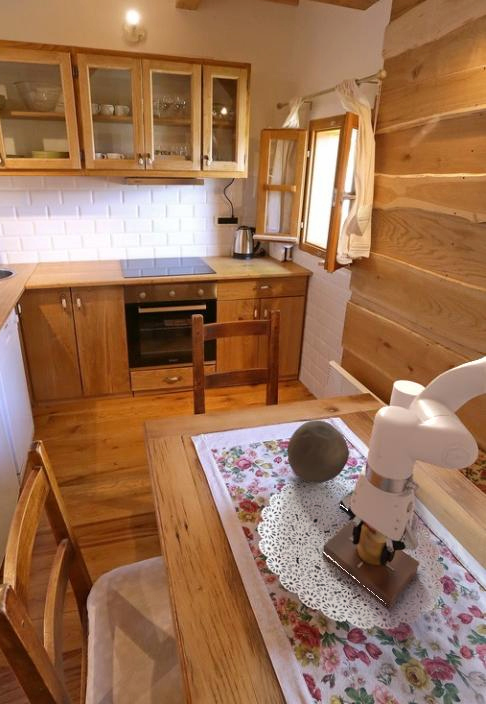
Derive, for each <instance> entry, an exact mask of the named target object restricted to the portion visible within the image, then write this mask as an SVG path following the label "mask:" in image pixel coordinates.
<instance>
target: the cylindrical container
mask: <svg viewBox="0 0 486 704" xmlns="http://www.w3.org/2000/svg"><path fill="white" fill-rule="evenodd" d="M425 388H426V387H424V385H422V384H420V383H417V382H414V381H411V380H405V379H403V380H396V381H394V383H393V386H392V392H391V396H390V402H389V406H397V407H402V408H405V409H408V410H409V407H410V405H411V403H412V402H413V400H414V399H415V398H416V397H417V396H418V395H419V394H420V392H421V391H422V390H424V389H425Z"/></svg>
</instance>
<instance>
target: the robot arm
mask: <svg viewBox="0 0 486 704" xmlns="http://www.w3.org/2000/svg"><path fill="white" fill-rule="evenodd" d="M424 388H425V389H424V390H422V391H421V392H420V394H419V395H418V396H417V397H416V398H415V399H414V400H413V402H412V403H411V405H410V407H409V410H408V409H405V408H402V407H397V406H390V405H388V406H384V407H381V408H380V409H379V410H378V411H377V412H376V413H375V416H374V419H373V424H372V430H371V436H370V441H369V446H368V451H367V457H366V463H365V465H364V467H362V469H361V471H360V473H359V475H358V477H357V480H356V482H355V485H354V488H353V490H354V491H353V490H352V491H353V493H351V494H349V493H348V494H346V495H345V496H343V497H342V498H341V500H342V502H343V503H344V505H345V506H346V508H347V509H348V513H349V515H350V516H349V515H348V516H349V517H350V518H351V520H353V521H352V525H353V526H354V528H353V534H352V535H353V536H354V538H353V544H354V545H357V544H358V543H359V538H360V533H361V528H362V525H363V523H364V522H366V523H367V524H369V525H370V526H372V527H373V528H375V529H376V530H378V531H379V532H381V533H382V534H384V535H385V537H386V546H385V547H384V548H383V552H382V556H381V561H380V563H381V565H383V566H384V565H385V564H386V563H387V562H388V561H389V562H391V561H392V560H393V558H394V555H395V551H396V550H402V551H404V550H410V551H411V550H412V551H413V550H414V551H415V550H416V549H417V548H418V547H419V545H420V544H419V542H418V540H417V538H416V535H415V533H414V531H413V529H412V523H413V517H414V511H415V510H414V509H415V492H417V491H418V490H419V487H420V484H419V483H417V482H416V481H415V480H414V469H415V468H414V467H415V464H416V461H418V462H421V463H426V464H429V465H431V466H435V467H438V468H443V469H447V470H462V469H466V468H468V467H470V466H472V465H473V464H474V463H475V462H476V461H477V459H478V457H479V446H478V443H477V441H476V439H475V437H474V436H473V434H471V432H470V431H469V429H467V427H466V426H465V425H464V423H463V422H462V421H461V419H460V418H459V417H458V415H457V414H456V412H457V411H459V409H460V408H462V406H463V405H465V404H466V403H467V402H469V401H470V400H472V399H474V398H476V397H478V396H481V395H484V394H486V355H485V356H483V357H482V358H479V359H478V360H477V359H476V360H473V361H469V362H466V363H463V364H461V365H459V366H456V367H453V368H451V369H448V370H447V371H444V372H443V373H441V374H439V375H438V376H436V377H435V378H434V379H433V380H432V381H430V383H428V384H427V385H426V386H425V387H424Z"/></svg>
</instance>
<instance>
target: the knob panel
mask: <svg viewBox="0 0 486 704" xmlns="http://www.w3.org/2000/svg"><path fill="white" fill-rule="evenodd" d="M352 521H353V520H352V519H350V520H349V521H348V523H346V524H345V525H344V526H343V527H341V529H340V530H339V531H338V532H336V533H335V535H333V536H332V537H331V538H330V539H329V540H328V541H327V542H325V544H324V545H323V549H322V556H321V557H322V558H323V559H325V560H326V561H327V562H328V563H329V564H330V565H332V566H333V567H334V568H336V569H337V570H338V571H339V572H341V574H343V575H344V576H345V577H347V578H348V579H349V580H350V581H352V583H354V584H355V585H356V586H358V587H359V588H360V589H361V590H362V591H363V592H365V593H366V594H368V596H370V597H371V598H372V599H373V600H375V601H376V602H377V603H379V604H380V605H381V606H382V607H383V608H384V609H385V610H387V611H390V610H391V608H392V607H393V606H394V604H396V602H397V600H398V599H399V598H400V596H402V594H403V593H404V591H405V590H406V588H407V587H408V586H409V585H410V583H411V582H412V581H413V580H414V579H415V577H416V575H417V574H418V570H419V567H420V561H419V560H417V559H416V558H414V557H413V556H411V555H409V554H408V553H407V552H406V551H404V550H396V551H395V555H394V558H393V560H392V561H391V562H389V561H388V562H387V563H386V564H385V565H384V566H383V565H381V564H379V565H372V564H369V563H367V562H365V561H364V560H363V559H362V558H361V557H360V556H359V554H358V544H359V543H358V544H357V545H354V544H353V538H354V536H353V535H352V534H353V528H354V526H353V525H352ZM323 551H324V552H325V553H326V554H327V555H329V556H330V557H331V558H332V559H333V560H334V561H336V562H337V563H338V564H339V565H340V566H341V567H342V568H343V569H345V570H346V571H347V572H348V573H349V574H348V573H347V572H346V571H345V570H343V569H342V568H341V567H340V566H338V565H337V564H336V563H335V562H333V561H332V560H331V559H330V558H329V557H327V556H326V555H325V554H324V553H323ZM350 574H351V575H352V576H354V577H355V578H356V579H357V580H358V581H359V582H360V583H359V582H358V581H357V580H356V579H354V578H353V577H352V576H351V575H350ZM363 585H364V586H365V587H364V586H363ZM367 588H368V589H369V590H370V591H369V590H368V589H367ZM371 591H372V592H373V593H374V594H375V595H374V594H373V593H372V592H371ZM376 595H377V596H378V597H379V598H380V599H382V600H383V601H384V602H383V601H382V600H380V599H379V598H378V597H377V596H376ZM385 603H386V604H385Z"/></svg>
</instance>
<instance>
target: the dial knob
mask: <svg viewBox="0 0 486 704" xmlns="http://www.w3.org/2000/svg"><path fill="white" fill-rule="evenodd" d="M385 546H386V537H385V535H384V534H382V533H381V532H379V531H378V530H376V529H375V528H373V527H372V526H370V525H369V524H367V523H366V522H364V523H363V525H362V528H361V533H360V538H359V544H358V554H359V556H360V557H361V558H362V559H363V560H364V561H365V562H367V563H369V564H372V565H379V564H381V563H380V561H381V556H382V552H383V548H384V547H385Z"/></svg>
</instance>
